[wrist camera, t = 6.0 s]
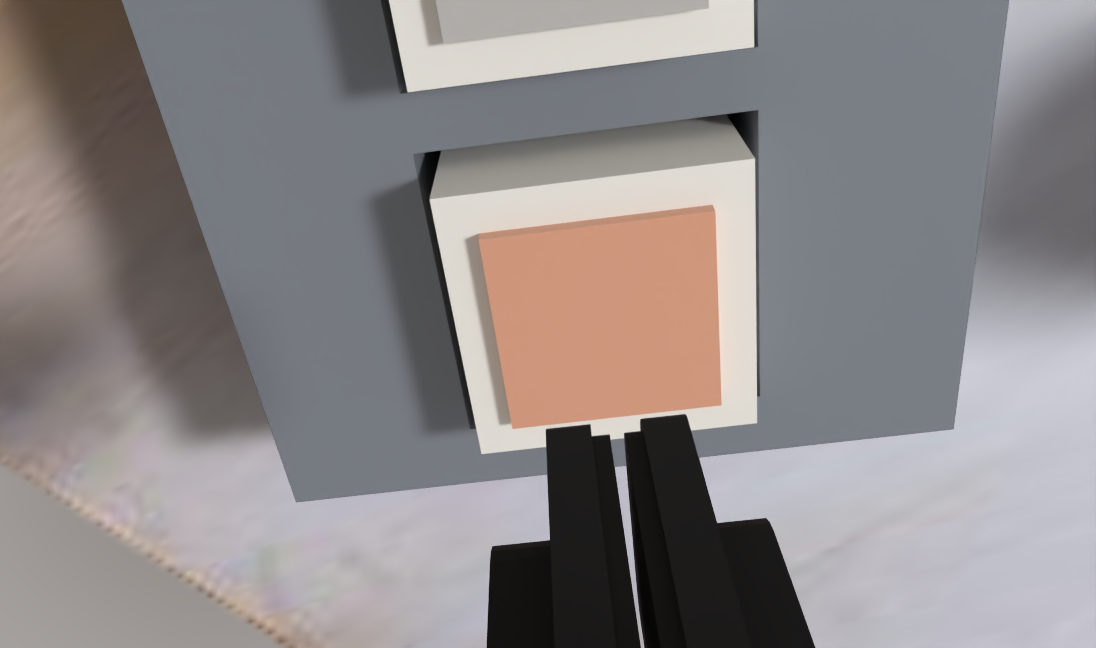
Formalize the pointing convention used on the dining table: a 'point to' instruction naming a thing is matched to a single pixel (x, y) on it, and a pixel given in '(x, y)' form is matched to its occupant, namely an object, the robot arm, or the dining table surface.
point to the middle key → (556, 35)
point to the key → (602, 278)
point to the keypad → (558, 109)
